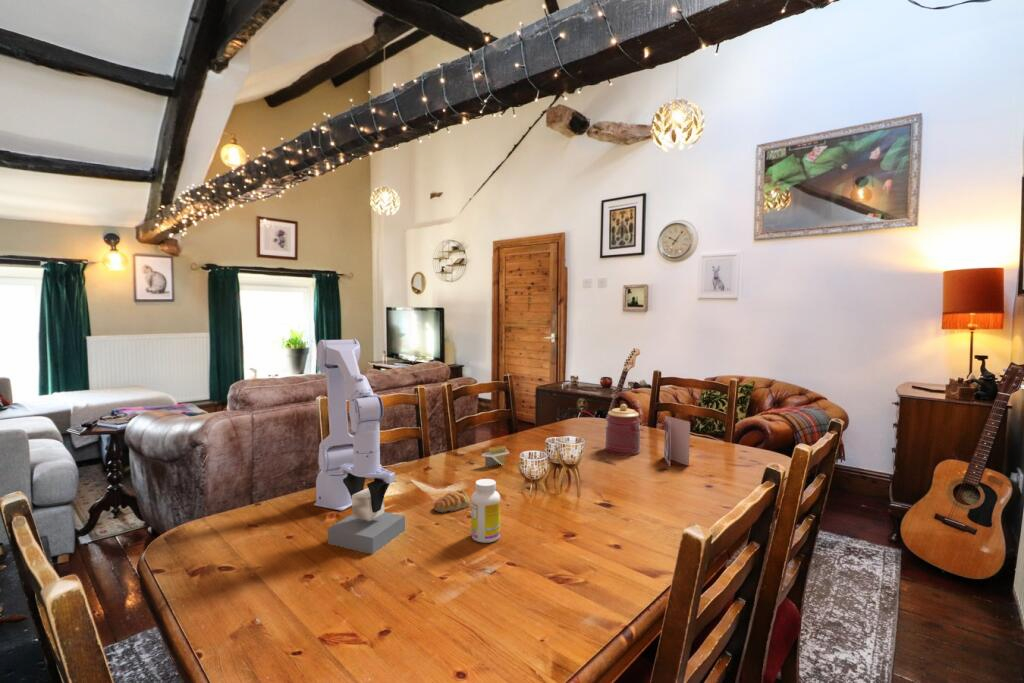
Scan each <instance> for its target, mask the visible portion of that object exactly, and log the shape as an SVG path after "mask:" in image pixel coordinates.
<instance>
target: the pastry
mask: <svg viewBox="0 0 1024 683" xmlns="http://www.w3.org/2000/svg"><path fill="white" fill-rule="evenodd" d="M467 493H468V492H466V491H464V489H462V490H459V489H458V490H456V491H452V492H449V493H446V494H444V496H442V497H440V498H439V499H438V500H436V501H435V502H434V506H433V510H435V511H436V512H439V513H443V512H444V513H447V512H446V511H450V512H455V511H456V512H457V511H459V509H460V510H463V509H465V507H466V508H468V507H469V506H470V505H471V500H470V498H469V496H468V494H467ZM462 508H463V509H462Z"/></svg>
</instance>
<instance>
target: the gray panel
mask: <svg viewBox="0 0 1024 683" xmlns="http://www.w3.org/2000/svg"><path fill="white" fill-rule="evenodd" d="M405 531H406V515H403V514H399V513H393V512H387V511H384V513H383V514H381V515H379V516H378V517H376V518H374V519H372V520H370V521H367V520H363V519H359V518H355V517H352V514H351V515H348V516H347V517H345V518H343V519H342V520H340V521H338V522H336V523H334V524H333V525H331V526H329V527H327V545H329V544H331V545H330V546H334V545H336V546H335V547H338V546H340V547H339V548H343V547H344V549H348V550H351V549H352V551H356V550H357V552H360V551H362V552H361V553H365V552H366V553H365V554H369V553H371V554H370V555H374V554H375V552H376V551H377V552H378V551H380V550H382V548H384V547H386V545H388V544H389V543H390V542H392V541H393V540H394V539H396V538H397V537H399V536H400V535H401V534H403V533H404V532H405ZM402 532H403V533H402ZM400 533H401V534H400ZM399 534H400V535H399ZM395 537H396V538H395ZM392 539H393V540H392ZM391 540H392V541H391ZM388 542H389V543H388ZM387 543H388V544H387ZM383 546H384V547H383ZM379 549H380V550H379ZM377 552H376V553H377Z"/></svg>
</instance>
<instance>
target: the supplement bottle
mask: <svg viewBox="0 0 1024 683" xmlns="http://www.w3.org/2000/svg"><path fill="white" fill-rule="evenodd" d="M474 485H475V487H474V488H475V491H474V492H473V493H472V494H471V496H470V497H471V498H470V499H471V500H470V505H471V506H470V509H471V510H470V511H471V512H470V513H471V514H470V516H471V517H470V518H471V521H470V524H471V526H470V527H471V528H470V529H471V530H470V531H471V538H472V539H473V540H474V541H475V542H478V543H483V544H487V543H488V544H489V543H493V542H496V541H497V540H499V538H500V536H501V495H500V493H499V492H498V491H497V490H496V489H497V482H496V480H494V479H492V478H479V479H478V480H476V481H475V484H474Z"/></svg>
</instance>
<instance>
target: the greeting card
mask: <svg viewBox="0 0 1024 683" xmlns="http://www.w3.org/2000/svg"><path fill="white" fill-rule="evenodd" d="M663 423H664V424H663V425H664V439H663V440H664V446H663V447H664V448H663V450H664V451H663V458H664V460H665V461H666V463H667V464H668V467H671V460H672V461H675V462H677V463H680V464H682V465H685V466H688V467H689V466H690V447H691V446H690V443H691V442H690V441H691V422H690V421H688V420H684V419H680V418H677V417H672V416H669V415H665V416H664V420H663Z"/></svg>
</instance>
